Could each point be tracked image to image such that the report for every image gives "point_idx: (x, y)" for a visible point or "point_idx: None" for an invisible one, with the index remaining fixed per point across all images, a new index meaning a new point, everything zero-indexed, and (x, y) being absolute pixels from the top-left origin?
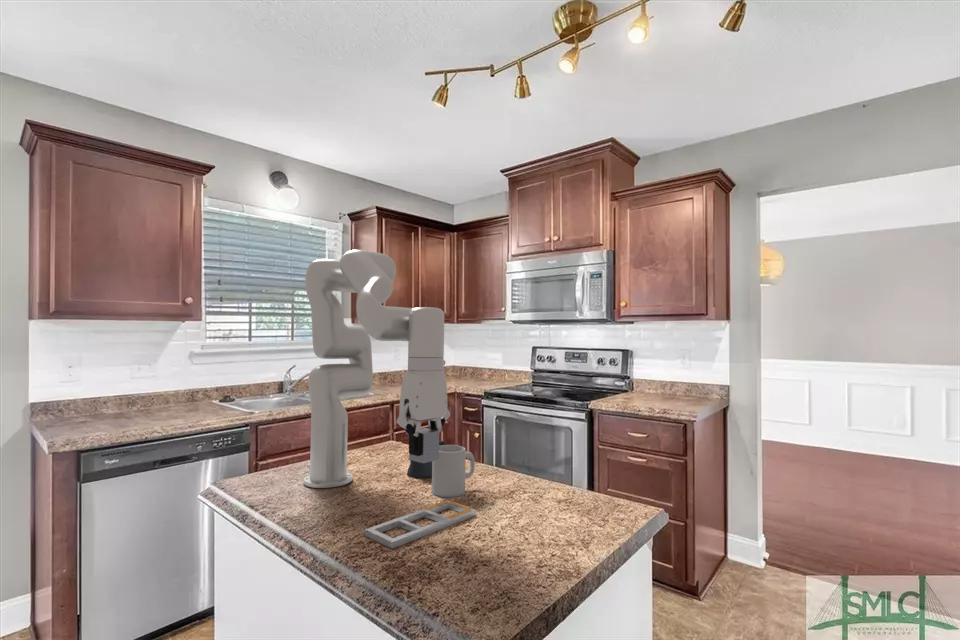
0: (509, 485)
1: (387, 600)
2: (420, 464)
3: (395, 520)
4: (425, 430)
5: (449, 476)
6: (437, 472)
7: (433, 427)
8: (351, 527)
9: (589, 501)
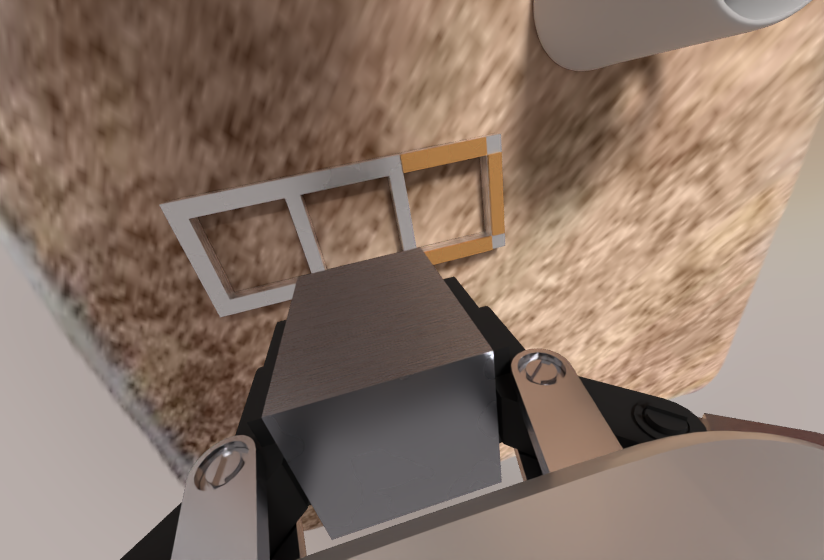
0: (742, 94)
1: (163, 457)
2: None
3: (276, 191)
4: (416, 451)
5: (603, 40)
6: None
7: (525, 425)
8: (130, 105)
9: (709, 303)
